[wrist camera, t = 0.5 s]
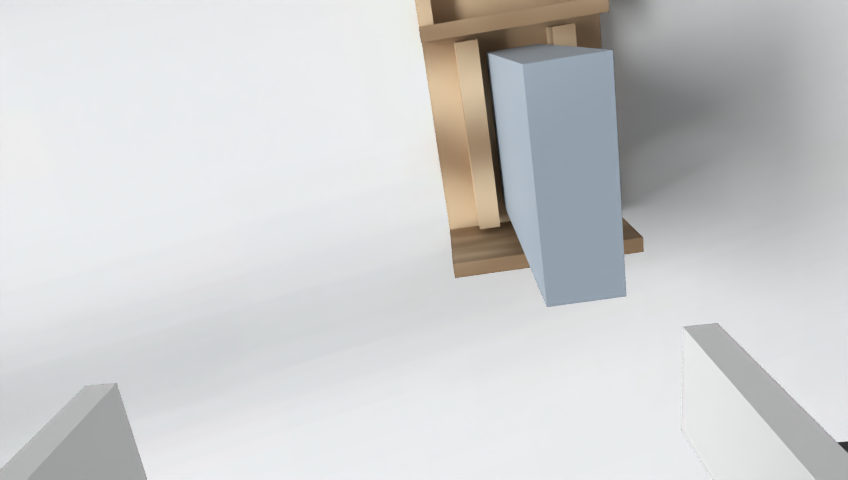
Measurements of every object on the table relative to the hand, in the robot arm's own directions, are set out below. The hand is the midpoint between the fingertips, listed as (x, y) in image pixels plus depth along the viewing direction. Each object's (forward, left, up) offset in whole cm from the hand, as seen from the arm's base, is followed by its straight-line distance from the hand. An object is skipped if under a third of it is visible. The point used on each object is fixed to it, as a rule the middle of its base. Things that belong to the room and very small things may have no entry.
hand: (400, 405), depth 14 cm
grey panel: (-2, +6, -24) cm, 25 cm away
